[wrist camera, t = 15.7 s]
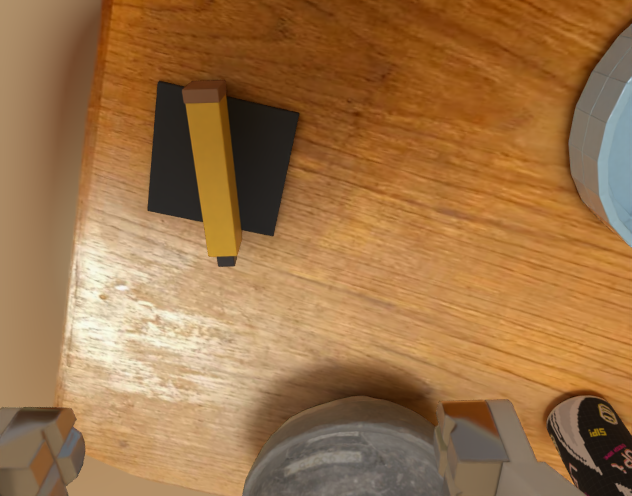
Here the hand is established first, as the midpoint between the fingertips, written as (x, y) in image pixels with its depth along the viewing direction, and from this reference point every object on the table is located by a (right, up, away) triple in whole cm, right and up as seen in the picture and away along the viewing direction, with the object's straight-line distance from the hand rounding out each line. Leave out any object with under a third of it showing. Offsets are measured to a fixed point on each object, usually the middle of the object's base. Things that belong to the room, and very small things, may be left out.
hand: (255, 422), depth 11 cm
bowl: (+4, -13, +36) cm, 38 cm away
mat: (-5, +10, +23) cm, 26 cm away
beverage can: (+24, -11, +34) cm, 43 cm away
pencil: (-5, +9, +23) cm, 25 cm away
